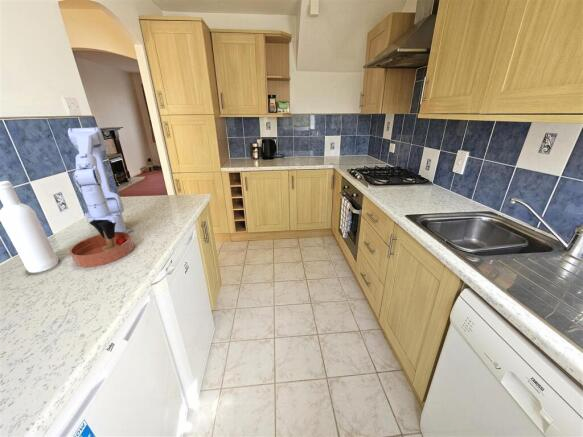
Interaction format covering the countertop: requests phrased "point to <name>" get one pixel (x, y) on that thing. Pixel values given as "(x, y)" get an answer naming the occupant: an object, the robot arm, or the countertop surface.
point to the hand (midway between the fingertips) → (109, 237)
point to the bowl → (100, 250)
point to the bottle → (25, 231)
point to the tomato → (120, 241)
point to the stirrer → (109, 244)
